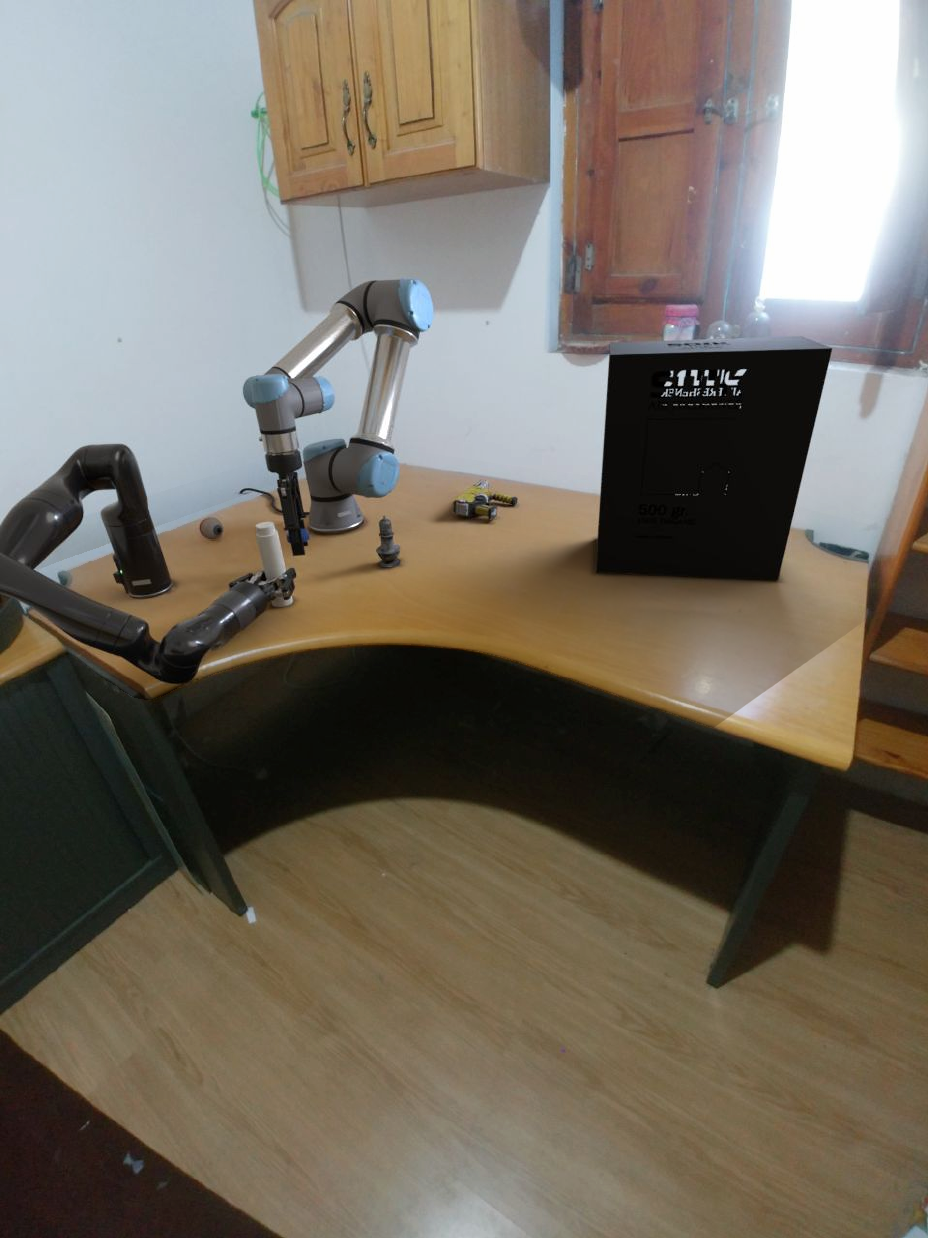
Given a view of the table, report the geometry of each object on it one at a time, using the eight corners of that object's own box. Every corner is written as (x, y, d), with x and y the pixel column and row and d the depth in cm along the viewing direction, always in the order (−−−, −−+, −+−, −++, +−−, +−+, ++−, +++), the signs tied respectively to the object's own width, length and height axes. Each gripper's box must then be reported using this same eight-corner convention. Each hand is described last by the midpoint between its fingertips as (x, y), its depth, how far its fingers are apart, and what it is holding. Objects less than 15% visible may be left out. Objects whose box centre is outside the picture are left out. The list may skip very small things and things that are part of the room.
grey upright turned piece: (398, 568, 142) (392, 520, 136) (374, 567, 143) (367, 519, 137) (405, 558, 147) (399, 511, 141) (382, 557, 148) (376, 510, 142)
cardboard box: (758, 542, 144) (801, 336, 122) (778, 580, 127) (832, 348, 105) (597, 537, 152) (610, 342, 129) (595, 572, 135) (610, 354, 112)
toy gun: (525, 484, 182) (478, 477, 186) (503, 508, 162) (451, 499, 166) (524, 500, 184) (477, 492, 188) (502, 525, 164) (450, 516, 168)
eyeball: (213, 544, 161) (207, 523, 158) (198, 540, 164) (191, 520, 161) (231, 536, 165) (225, 516, 162) (216, 533, 168) (210, 512, 165)
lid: (311, 541, 140) (309, 533, 139) (288, 545, 138) (287, 537, 137) (308, 534, 144) (306, 526, 143) (286, 538, 143) (284, 530, 142)
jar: (276, 597, 132) (258, 520, 124) (295, 598, 132) (278, 520, 123) (269, 607, 129) (250, 528, 120) (288, 607, 128) (270, 528, 119)
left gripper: (210, 622, 119) (258, 583, 133) (273, 629, 115) (316, 588, 130) (200, 588, 115) (250, 552, 130) (265, 594, 112) (310, 557, 126)
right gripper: (271, 442, 139) (290, 537, 150) (256, 463, 123) (278, 567, 134) (304, 440, 139) (320, 535, 151) (293, 460, 124) (312, 564, 135)
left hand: (283, 570), depth 129 cm, fingers closed on jar, 4 cm apart
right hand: (300, 550), depth 143 cm, fingers closed on lid, 5 cm apart
